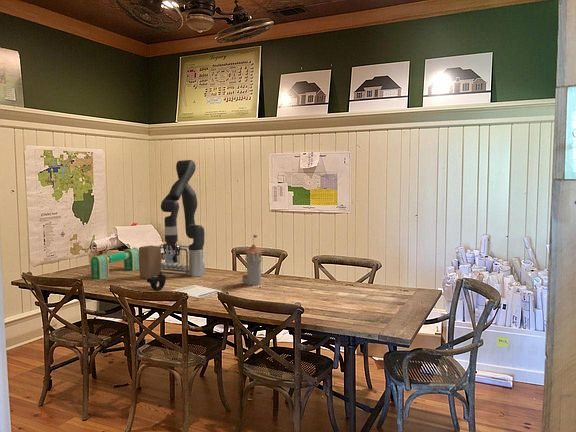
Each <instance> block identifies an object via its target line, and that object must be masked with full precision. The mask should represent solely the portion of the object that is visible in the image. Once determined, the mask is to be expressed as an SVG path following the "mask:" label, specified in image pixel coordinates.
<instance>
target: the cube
mask: <svg viewBox="0 0 576 432" xmlns="http://www.w3.org/2000/svg"><path fill="white" fill-rule="evenodd" d="M178 261H179V255H178V256H177V262H175V263H174V262H173V253H172V254H165V263H166V264H167V263H170V264H173V263H174V264H178Z"/></svg>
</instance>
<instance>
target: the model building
mask: <svg viewBox="0 0 576 432" xmlns="http://www.w3.org/2000/svg"><path fill="white" fill-rule="evenodd" d="M257 237H258V235H256V234H253V242H252V243H253V244H252V246H250V247H249V249H247V250H246V251H245V262H246V274H243V275H242V285H247V284H248V286H253V285H254V286H260V285H261V284H262V261H263V256H262V253H263V251H262V250H260V249H259V248H258V247H257V246H256V244H254V243H255V242H254V240H255V239H257Z"/></svg>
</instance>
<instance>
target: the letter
mask: <svg viewBox="0 0 576 432" xmlns="http://www.w3.org/2000/svg"><path fill="white" fill-rule="evenodd" d="M171 291H179V292H185V293H187V294H188V295H187V296H189V297H192V298H196V299H200V298H205V297H207V296H211V295H214V294H218V293H217V292H219V293H222V292H223V291H222V290H219V289H216V288H215V289H214V288H210V287H206V286H201V285H196V284H193V285H188V286H185V287H181V288H176V289H173V290H171Z"/></svg>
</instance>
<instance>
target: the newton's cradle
mask: <svg viewBox="0 0 576 432" xmlns="http://www.w3.org/2000/svg"><path fill="white" fill-rule="evenodd" d="M163 244H164V243H163ZM163 244H162V243H161V244H159V245H158V246H159V247H160V255H161V257H163V256H164V255H163V253H162V250H164V249H163ZM177 245H178V246H180V252H182V251H184V252H185V257H182V255H180V256H181V259H182V262H181V264H180V263H179V261H180V260H178V263H173V264H170V263H166V262H165V261H166V257H163V261H162V262H161V272H163V273H162V274H170V275H177V276H178V275H179V276H181V275H182V276H188V274H189V245H179V244H177ZM171 254H172V252H171ZM184 259H185V264H184ZM163 269H164V270H165V271H164V270H163ZM174 271H175V272H174ZM184 271H185V272H186V273H185V272H184ZM183 272H184V273H183Z"/></svg>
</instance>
